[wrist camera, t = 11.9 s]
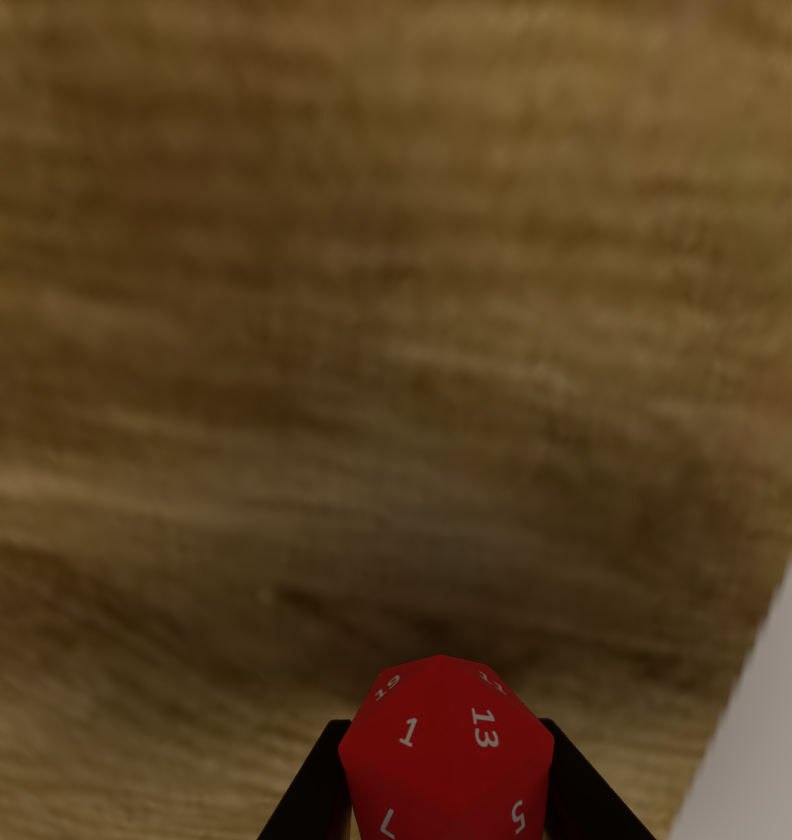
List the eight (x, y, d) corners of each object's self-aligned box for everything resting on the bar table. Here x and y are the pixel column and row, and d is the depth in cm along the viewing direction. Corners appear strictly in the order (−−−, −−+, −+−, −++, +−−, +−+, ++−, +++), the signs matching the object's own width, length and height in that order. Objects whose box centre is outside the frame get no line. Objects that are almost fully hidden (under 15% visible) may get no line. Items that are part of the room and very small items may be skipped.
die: (524, 603, 8) (408, 895, 5) (613, 740, 9) (555, 1061, 6) (381, 603, 10) (251, 799, 8) (460, 710, 11) (368, 924, 8)
